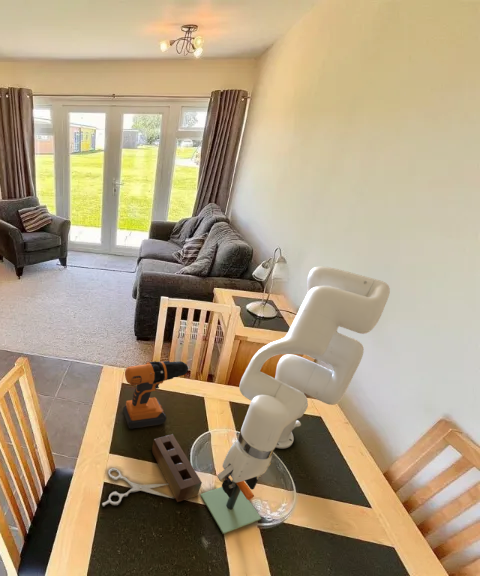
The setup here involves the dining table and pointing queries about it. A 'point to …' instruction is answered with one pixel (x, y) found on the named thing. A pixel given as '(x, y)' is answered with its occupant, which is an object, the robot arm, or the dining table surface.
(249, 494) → the t handle
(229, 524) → the mat
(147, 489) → the scissors
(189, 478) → the rack
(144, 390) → the power drill
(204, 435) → the dining table surface
